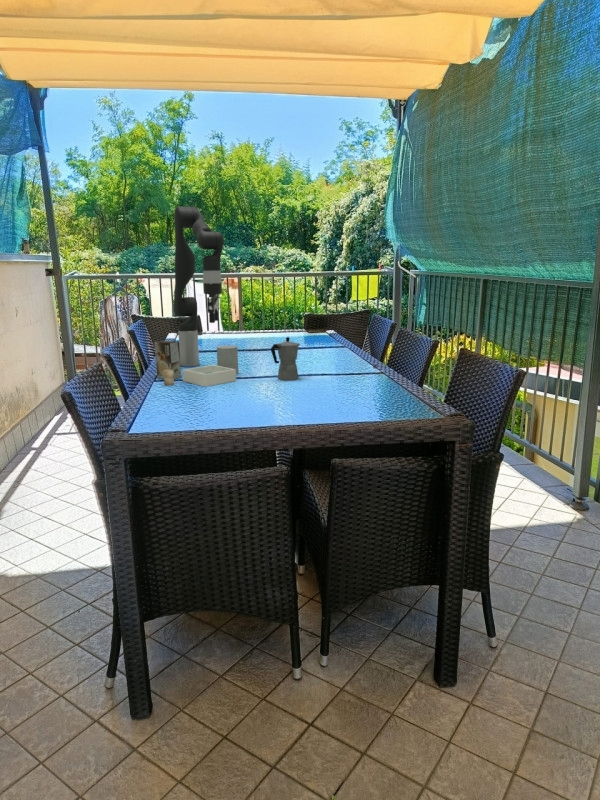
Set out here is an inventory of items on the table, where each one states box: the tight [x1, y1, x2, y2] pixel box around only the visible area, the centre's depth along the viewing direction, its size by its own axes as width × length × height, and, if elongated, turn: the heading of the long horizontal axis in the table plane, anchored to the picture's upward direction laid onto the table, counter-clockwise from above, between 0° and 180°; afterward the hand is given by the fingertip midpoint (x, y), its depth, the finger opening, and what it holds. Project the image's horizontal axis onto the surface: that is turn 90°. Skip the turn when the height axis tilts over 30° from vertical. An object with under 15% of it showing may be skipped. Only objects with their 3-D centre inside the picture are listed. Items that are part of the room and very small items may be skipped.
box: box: [182, 364, 237, 388], centre depth 234 cm, size 16×16×5 cm
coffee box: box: [154, 339, 182, 380], centre depth 240 cm, size 9×6×16 cm
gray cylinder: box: [216, 344, 239, 376], centre depth 250 cm, size 10×10×12 cm
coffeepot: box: [270, 336, 301, 382], centre depth 236 cm, size 15×9×18 cm, turn 129°
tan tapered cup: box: [163, 370, 175, 387], centre depth 227 cm, size 4×4×6 cm
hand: (214, 321), depth 230 cm, fingers open, 8 cm apart
